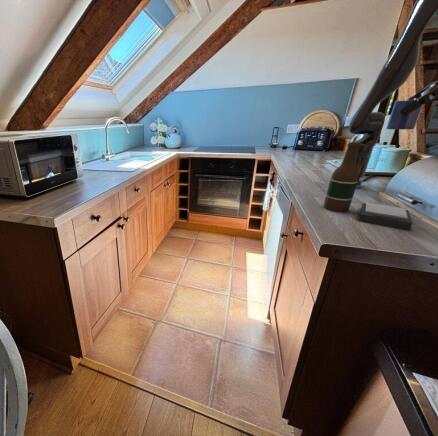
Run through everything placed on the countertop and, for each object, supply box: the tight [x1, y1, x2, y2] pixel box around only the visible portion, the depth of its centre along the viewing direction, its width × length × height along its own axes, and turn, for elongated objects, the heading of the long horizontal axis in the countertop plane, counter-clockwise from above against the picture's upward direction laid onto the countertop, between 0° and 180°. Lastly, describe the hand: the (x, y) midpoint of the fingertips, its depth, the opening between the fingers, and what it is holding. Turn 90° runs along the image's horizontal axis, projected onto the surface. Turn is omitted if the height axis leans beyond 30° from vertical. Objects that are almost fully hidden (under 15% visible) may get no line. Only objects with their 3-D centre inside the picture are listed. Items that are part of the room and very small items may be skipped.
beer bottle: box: [323, 141, 361, 213], centre depth 87 cm, size 8×8×24 cm
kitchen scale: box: [358, 202, 413, 231], centre depth 81 cm, size 14×12×3 cm
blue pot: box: [386, 99, 424, 130], centre depth 74 cm, size 6×6×8 cm
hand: (397, 114), depth 75 cm, fingers closed on blue pot, 6 cm apart
